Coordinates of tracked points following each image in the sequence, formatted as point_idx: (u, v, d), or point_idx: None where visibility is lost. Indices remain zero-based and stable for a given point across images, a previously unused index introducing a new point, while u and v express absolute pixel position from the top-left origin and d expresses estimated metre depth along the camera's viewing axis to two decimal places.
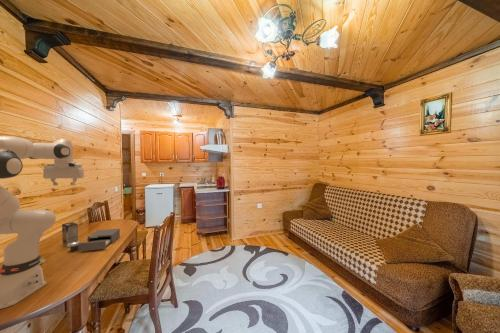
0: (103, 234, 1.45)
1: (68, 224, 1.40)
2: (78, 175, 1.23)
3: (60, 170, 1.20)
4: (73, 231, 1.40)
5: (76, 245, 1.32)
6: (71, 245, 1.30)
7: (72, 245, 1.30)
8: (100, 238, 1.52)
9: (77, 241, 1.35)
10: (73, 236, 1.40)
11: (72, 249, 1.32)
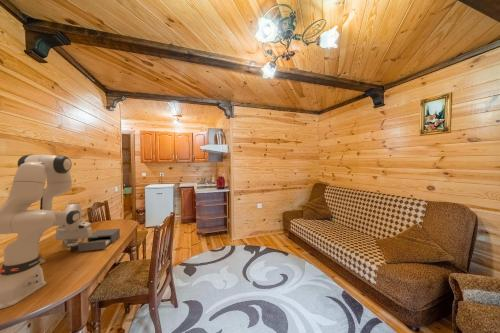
0: (103, 234, 1.45)
1: None
2: (87, 235, 1.34)
3: (71, 232, 1.31)
4: None
5: (76, 245, 1.32)
6: (71, 245, 1.30)
7: (72, 245, 1.30)
8: (100, 238, 1.52)
9: (77, 241, 1.35)
10: None
11: (72, 249, 1.32)
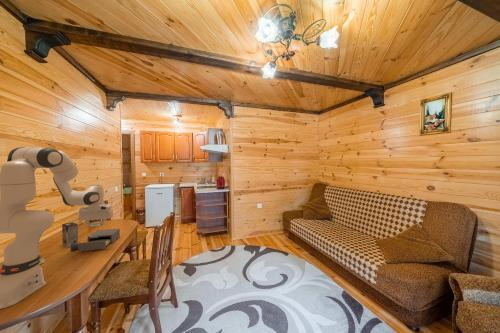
0: (103, 234, 1.45)
1: (68, 224, 1.40)
2: (109, 217, 1.38)
3: (93, 212, 1.35)
4: (73, 231, 1.40)
5: None
6: (94, 225, 1.34)
7: (95, 225, 1.34)
8: (100, 238, 1.52)
9: (99, 222, 1.39)
10: (73, 236, 1.40)
11: (72, 249, 1.32)
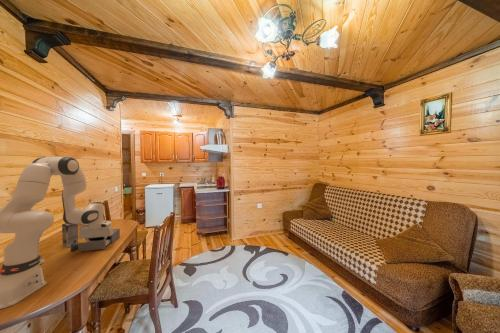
0: None
1: (68, 224, 1.40)
2: (109, 234, 1.38)
3: (93, 230, 1.36)
4: (73, 231, 1.40)
5: None
6: None
7: None
8: (100, 238, 1.52)
9: None
10: (73, 236, 1.40)
11: (72, 249, 1.32)
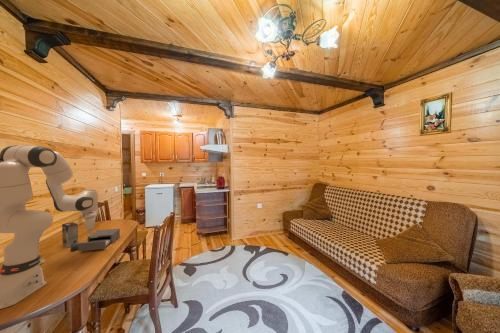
0: (103, 234, 1.45)
1: (68, 224, 1.40)
2: None
3: None
4: (73, 231, 1.40)
5: None
6: None
7: None
8: (100, 238, 1.52)
9: None
10: (73, 236, 1.40)
11: (72, 249, 1.32)
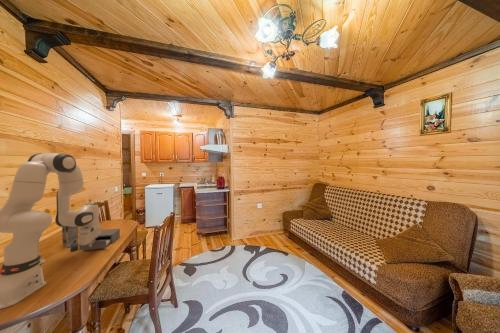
0: (103, 234, 1.45)
1: None
2: None
3: None
4: (73, 231, 1.40)
5: None
6: None
7: None
8: (100, 238, 1.52)
9: None
10: (73, 236, 1.40)
11: (72, 249, 1.32)
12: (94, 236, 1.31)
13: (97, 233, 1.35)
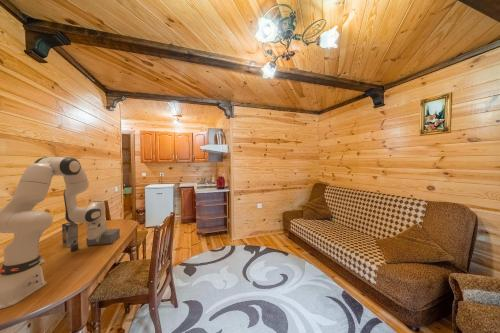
0: (103, 234, 1.45)
1: (68, 224, 1.40)
2: None
3: None
4: (73, 231, 1.40)
5: None
6: None
7: None
8: None
9: None
10: (73, 236, 1.40)
11: (72, 249, 1.32)
12: (101, 231, 1.40)
13: (103, 229, 1.44)
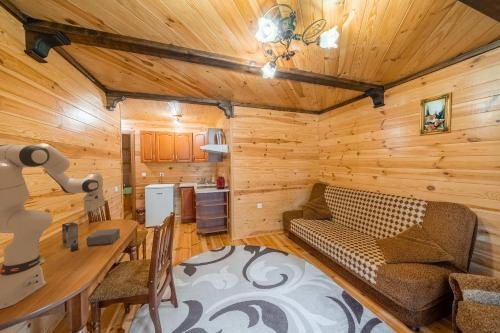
0: (103, 234, 1.45)
1: (68, 224, 1.40)
2: None
3: None
4: (73, 231, 1.40)
5: None
6: None
7: None
8: None
9: None
10: (73, 236, 1.40)
11: (72, 249, 1.32)
12: (98, 205, 1.37)
13: (101, 203, 1.40)
